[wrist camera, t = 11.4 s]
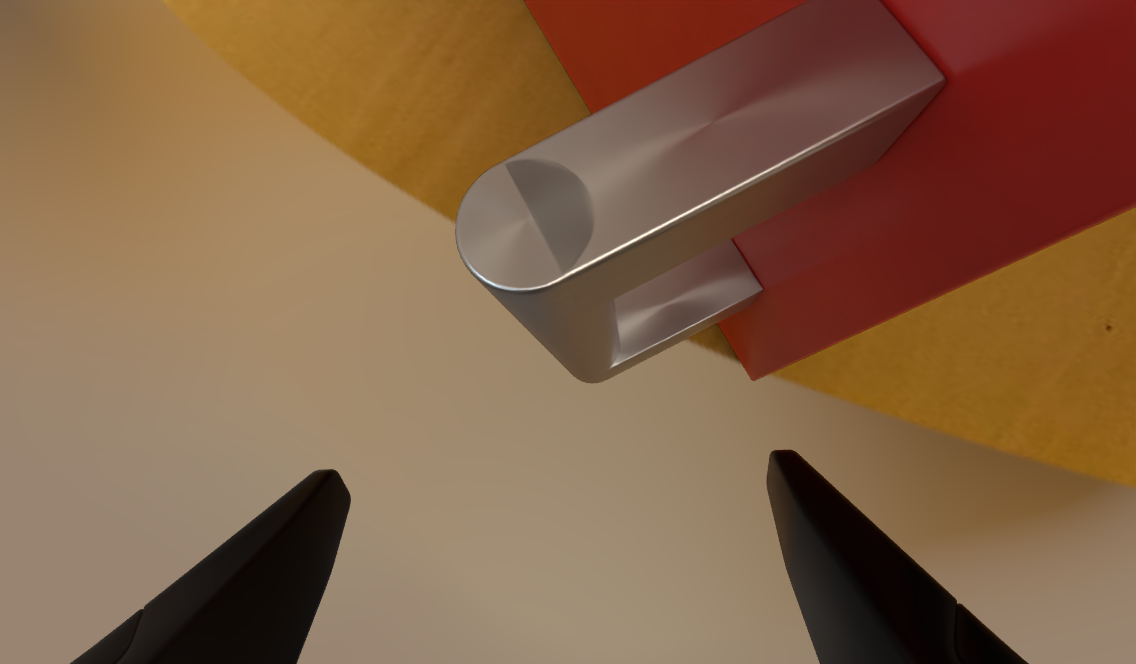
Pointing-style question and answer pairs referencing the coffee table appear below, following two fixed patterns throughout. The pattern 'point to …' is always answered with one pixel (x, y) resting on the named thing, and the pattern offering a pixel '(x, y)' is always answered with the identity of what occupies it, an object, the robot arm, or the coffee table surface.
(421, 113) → the coffee table surface
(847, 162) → the cupboard door
